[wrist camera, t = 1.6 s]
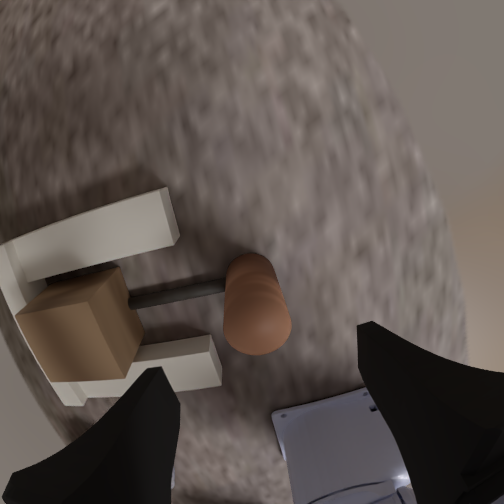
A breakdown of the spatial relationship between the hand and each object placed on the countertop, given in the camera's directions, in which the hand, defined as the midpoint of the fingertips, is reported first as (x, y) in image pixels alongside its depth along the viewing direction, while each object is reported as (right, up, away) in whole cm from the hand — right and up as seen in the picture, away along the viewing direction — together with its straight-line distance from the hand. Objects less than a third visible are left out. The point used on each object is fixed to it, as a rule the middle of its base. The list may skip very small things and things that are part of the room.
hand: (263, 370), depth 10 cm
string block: (-7, +1, +9) cm, 11 cm away
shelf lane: (-9, +1, +9) cm, 13 cm away
